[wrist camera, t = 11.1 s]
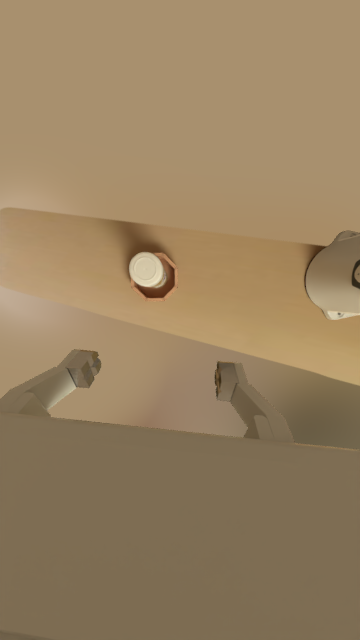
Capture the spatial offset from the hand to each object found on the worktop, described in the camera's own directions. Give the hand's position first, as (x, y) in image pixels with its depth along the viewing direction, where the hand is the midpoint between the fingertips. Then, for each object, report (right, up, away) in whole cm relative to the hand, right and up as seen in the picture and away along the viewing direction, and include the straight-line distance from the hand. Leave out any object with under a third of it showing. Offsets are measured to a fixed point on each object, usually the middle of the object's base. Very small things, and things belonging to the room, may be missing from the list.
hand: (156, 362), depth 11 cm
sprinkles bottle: (-3, +12, +24) cm, 27 cm away
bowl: (-4, +12, +25) cm, 28 cm away
